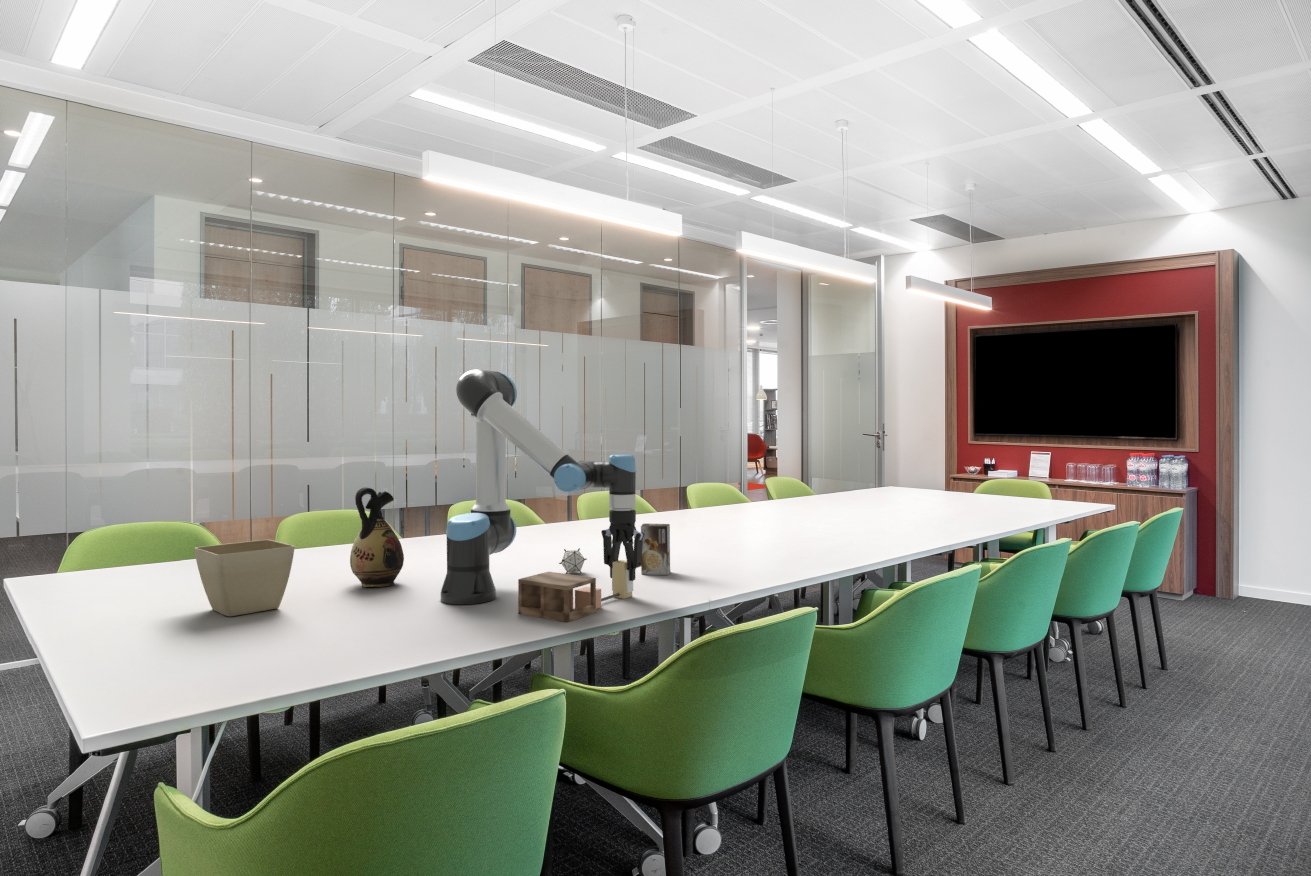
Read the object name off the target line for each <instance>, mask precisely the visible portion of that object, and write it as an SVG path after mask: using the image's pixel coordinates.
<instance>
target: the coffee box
mask: <svg viewBox="0 0 1311 876" xmlns="http://www.w3.org/2000/svg"><path fill="white" fill-rule="evenodd" d="M670 527H671V524H670V523H642V524H641V525H640V533H642V532H643V533H644V537H643V540H642V565H641V568H640V570H641V575H648V576H649V575H653V576H654V575H655V576H656V575H657V576H669V575H670V573H671V537H670V536H671V533H670V532H671V530H670V529H671V528H670Z"/></svg>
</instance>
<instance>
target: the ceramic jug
mask: <svg viewBox="0 0 1311 876" xmlns="http://www.w3.org/2000/svg"><path fill="white" fill-rule="evenodd" d="M366 495H369V496H370V499H369V500H368V501H367V503H366V505H365V507H364V503H363V497H364V496H366ZM354 498H355V499H354V500H355V506H356V508H357V512H358V514H359V517H360V520H361V529H360V531H359V532H358V533H357V536H356V537H355V539H354V541H353V544H352V546H351V551H350V556H349V557H350V558H349V564H350V569H351V572H352V574H353V575H355V577H356V578H357V580H359V582H360V583H361V586H362V587H363V588H366V587H367V588H368V587H370V588H384V587H391V586H394V585H395V580H396V579H397V577H398V575H399V574H400V572H401V570H402V569H403V567H404V561H405V560H404V559H405V555H404V549H403V546H402V543H401V541H400V539H399V538H398V535H397V533H396V532H395V531H394V529H393V528H392V527H391V525H390V524H389V523H388V522H387V521H386V520H385V518H384V517H383V512H382V509H383V507H385V506H386V505H388V504H390V503H391V502H394V501H395V500H394V499H395V498H394V497H393V495H392V494H391V493H389V492H388V491H386V490H385V491H383V492H381V491H378V493H377V491H375V489H373V488H371V487H366V486H365V487H362V488H360V489H358V490H357V491H356V493H355V496H354ZM366 510H369V514H367V513H366Z"/></svg>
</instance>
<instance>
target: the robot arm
mask: <svg viewBox="0 0 1311 876" xmlns="http://www.w3.org/2000/svg"><path fill="white" fill-rule="evenodd" d="M455 390H456V391H455V392H456V397H457V399H458V401H459V403H460V404H461V405H462V406H463V407H464V408H465V410H467V411H469V413H470V417H471V419H473V421H474V422H475V423H476V424H475V425H476V426H475V430H476V431H475V436H476V437H475V449H476V452H475V455H476V456H475V468H476V469H475V503H474V504H473V506H471V507H470V512H467V513H463V514H462V513H460V514H456V515H455V516H452V517H450V519H448V521H447V523H446V529H445V530H446V531H445V535H446V575H445V578H444V580H443V584H442V587H441V590H440V601H441V602H442V603H444V604H449V605H476V604H482V603H488V602H490V601H493V600H495V599H496V598H497V590H496V586H495V583H494V579H493V577H492V574H491V570H490V556H491V555H493V554H497V553H501V552H503V551H504V550H506V549H507V548H508V547H510V546H511V545H512V544H513V542H514V541H515V538H516V536H517V524H516V522H515V519H513V517H512V515H511V507H510V506H509V504H508V503H506V469H507V468H506V467H507V466H506V459H507V458H506V448H507V447H506V445H507V444H506V439H507V440H508V441H509V442H510V443H512V444H513V445H514V446H515V447H516V448H518V450H520V451H521V452H522V453H523V454H524V455H525V456H527V457H528V458H529V459H530V460H531V461H533V462H534V463H535V464H536V465H538V467H540V468H541V469H542V470H543V471H544V472H545V473H547V474H548V475H549V476H550V477H551V478H553V481H554V484H555V486H556V487H557V489H558V490H560V492H561V491H562V492H564V493H575V492H576V493H577V492H579V491H581V490H587V489H590V488H592V489H593V488H598V489H599V488H604V489H607V488H608V490H609V492H608V495H609V496H608V498H609V499H608V501H609V502H608V508H610V509H609V513H608V514H609V516H608V517H609V518H608V519H609V526H608V528H607V529H602V530H601V536H602V541H603V543H602V544H603V545H602V546H603V548H602V549H603V563H604V565H607V566H609V577H610V579H611V591H612V592H613V562H614V561H618V560H619V557H620V550H621V546H623V547H624V551H625V552H624V553H625V558H626V559H625V560H627V565H628V568H627V569H626V593H629V592H632V593H633V592H634V581H635V580H636V570H637V568H640V567H641V565H642V540H643V537H644V533H643V532H642V533H641V531H639V530H637V527H636V522H637V521H636V520H637V516H636V514H637V513H636V512H637V511H636V509H635V508H636V505H637V504H636V503H637V502H636V499H637V496H636V495H637V494H636V489H637V488H636V481H637V478H636V475H637V474H636V473H637V468H636V459H635V458H636V457H635V456H634V455H633V454H610V455H609V457H608V460H607V461H597V460H596V461H593V460H592V461H591V460H577V461H576V459H574V458H573V457H571V455H569V454H568V453H567V452H566V451H565V450H564V449H562V448H561V447H560V445H558V444H556V443H555V442H554V441H553V440H552V439H550V437H548V435H546V434H545V433H543V432H542V431H541V430H540V429H539V428H538V427H536V426H535V425H534V424H533V423H531V422H530V421H529V419H527V418H525V417H524V415H522V414H521V413H519V411H517V409H515V408H514V407H513V406H514V404H515V403H516V401H517V397H518V391H517V386H516V384H515V382H514V381H513V380H512V378H510V377H509V375H506V374H505V373H502V372H500V371H495V370H484V369H478V368H475V369H471V370H468V371H466V372H464V373H463V374H462V375H461V376H460V377H459V378H458V381H457V384H456V389H455Z"/></svg>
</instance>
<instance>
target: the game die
mask: <svg viewBox="0 0 1311 876" xmlns="http://www.w3.org/2000/svg"><path fill="white" fill-rule="evenodd" d="M580 550H581V549H580V547H579V548H578V550H577V549H576V550H572V549H571V550H566V549H565V548H564V549H563V551H564V554H563V557H562V560H561V561H560V562H559V563H558V564H559V565H562V567H563V568H564V570H565V572H566V573H565V574H569V573H580V574H581V573H583V572H582V569H583V565H584V563H585V561H587V560H588V558H584V556H583V554H582V553H581V551H580Z"/></svg>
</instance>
